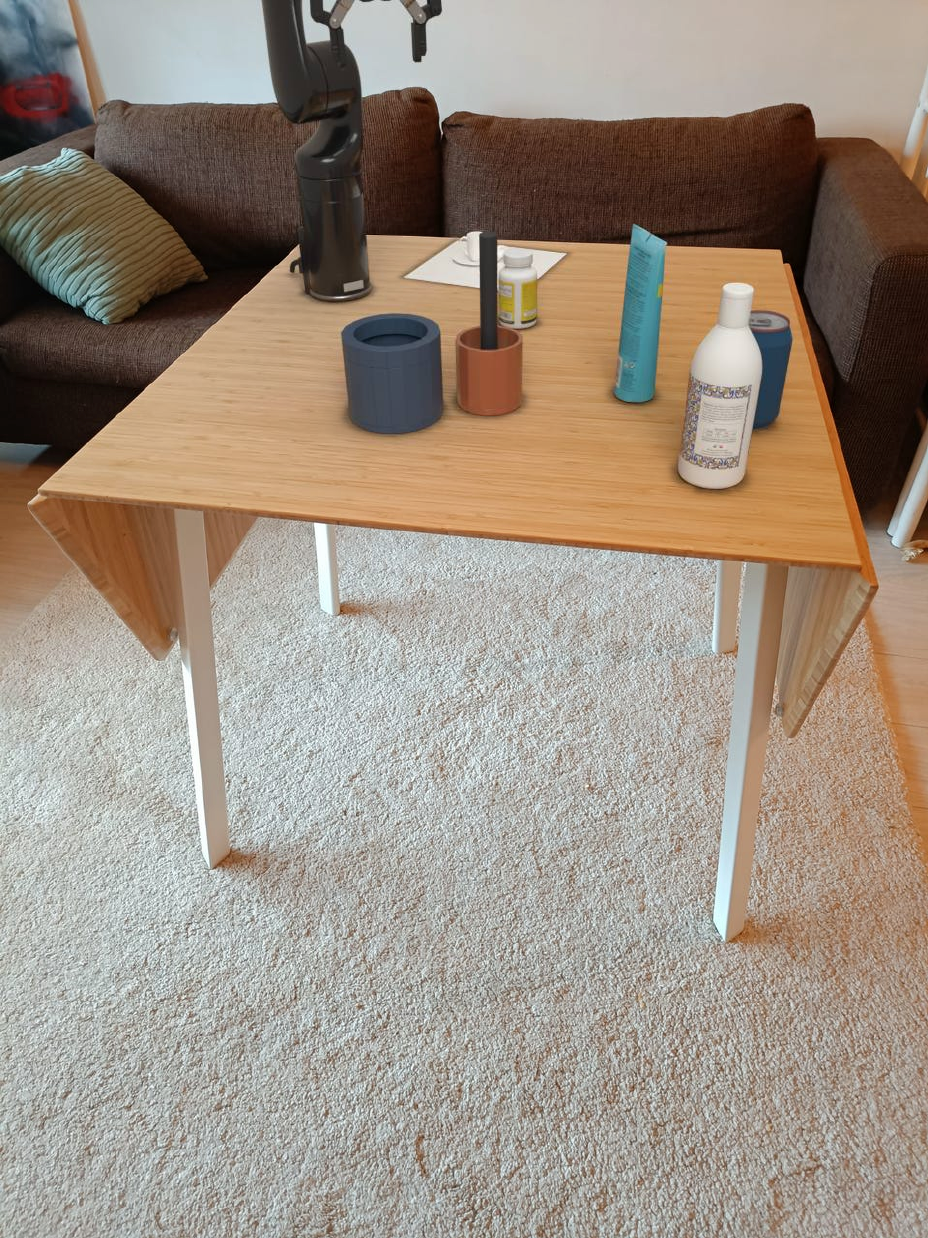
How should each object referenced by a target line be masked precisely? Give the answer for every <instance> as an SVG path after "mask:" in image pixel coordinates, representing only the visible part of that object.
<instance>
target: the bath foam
mask: <svg viewBox="0 0 928 1238" xmlns="http://www.w3.org/2000/svg"><path fill="white" fill-rule="evenodd" d="M754 293H755V289H754V286H752V285H750V284H749V283H745V282H730V283H725V284H724V285H723V286H722V288H721V294H720V301H719V308H718V316H717V323H716V324H715V325H714V326H713V328H711V330H709V332H708V333H707V335H706V336H705V337H703V339H702V341H701V342H700V343H699V345H698V347H697V348H696V350H695V352H694V354H693V357H692V360H691V364H690V368H689V373H688V381H687V390H686V398H685V406H684V413H683V423H682V430H681V437H680V445H679V446H680V447H679V454H678V463H677V471H678V474H679V476H680V477H681V478H682V479H683V480H684V481H685V482H686V483H688V484H691V485H692V486H695V487H698V488H701V489H703V488H704V489H707V490H722V489H727V488H731V487H734V486H736V485H738V484H739V483H740V482H741V481H742V480H743V478H744V476H745V473H746V468H747V463H748V457H749V452H750V446H751V441H752V435H753V431H752V430H753V424H754V418H755V413H756V407H757V401H758V395H759V390H760V384H761V378H762V357H761V353H760V349H759V347H758V344H757V342H756V340H755V338H754V336H753V334H752V332H751V330H750V328H749V326H748V323H749V319H750V313H751V311H752V307H753V299H754Z"/></svg>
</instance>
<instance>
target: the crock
mask: <svg viewBox="0 0 928 1238" xmlns="http://www.w3.org/2000/svg"><path fill="white" fill-rule="evenodd" d="M454 340H455V341H454V343H455V375H456V377H455V378H456V398H457V405H458V406H459V407H460V409H461V410H463V411H465V412H467V413H469V414H473V415H477V416H488V417H489V416H500V415H505V414H509V413H511V412H513V411H515V410H517V409H518V408H520V406H521V405H522V402H523V365H524V364H523V363H524V361H523V357H524V355H523V353H524V349H523V348H524V336H523V335H522V333H521V332H520V331H519V330H518V329H513V328H509V327H504V326H502V325H498V349H496V350H481V341H480V325H477V326H472V327H469V328H466V329H462V331H460V332H459V333H457V334H456V336H455V339H454Z"/></svg>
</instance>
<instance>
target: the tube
mask: <svg viewBox="0 0 928 1238" xmlns="http://www.w3.org/2000/svg"><path fill="white" fill-rule="evenodd" d="M667 245H668V242H667V241H665V240H663V239H662V238H659V236H656V235H654V234H652V233H650V232H649V231H647V230H646V229H644V228H642V227H640V226H638V225H636V224H635V223H633V224H632V229H631V237H630V244H629V252H628V260H627V268H626V277H625V287H624V293H623V294H624V296H623V305H622V312H621V313H622V314H621V322H620V323H621V324H620V333H619V343H618V350H617V351H618V352H617V361H616V369H615V370H616V371H615V381H614V391H613V394H614V396H615V397H616V398H617V399H619V400H621V401H623V402H628V403H644V402H648V401H650V400H652V399H653V398H654V397H655V392H656V381H657V367H658V355H659V343H660V330H661V318H662V306H663V293H664V283H665V282H664V280H665V264H666V263H665V262H666V247H667Z"/></svg>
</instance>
